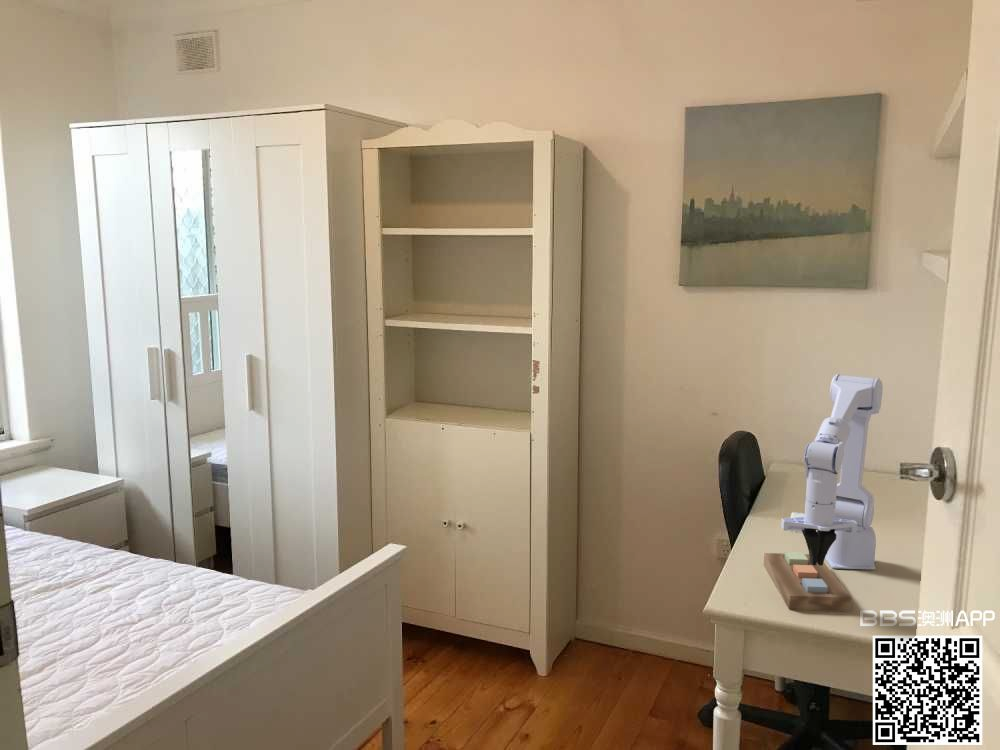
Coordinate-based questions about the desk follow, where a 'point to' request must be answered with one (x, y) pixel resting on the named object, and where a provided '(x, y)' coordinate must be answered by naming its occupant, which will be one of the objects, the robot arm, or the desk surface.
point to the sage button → (796, 558)
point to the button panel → (795, 592)
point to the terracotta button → (805, 571)
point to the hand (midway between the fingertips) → (816, 563)
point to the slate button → (814, 585)
